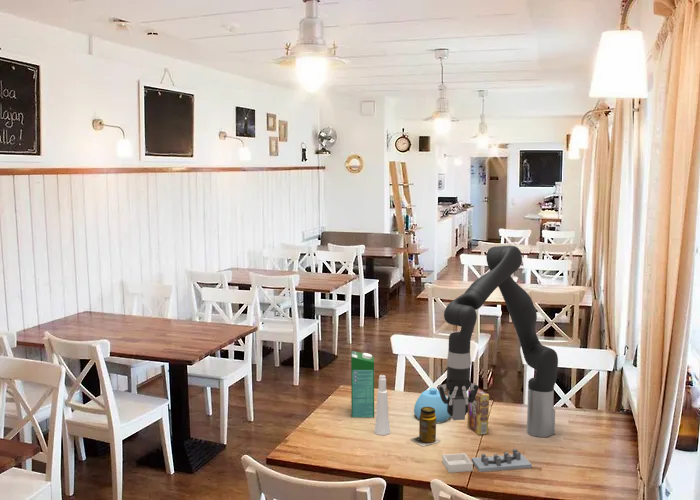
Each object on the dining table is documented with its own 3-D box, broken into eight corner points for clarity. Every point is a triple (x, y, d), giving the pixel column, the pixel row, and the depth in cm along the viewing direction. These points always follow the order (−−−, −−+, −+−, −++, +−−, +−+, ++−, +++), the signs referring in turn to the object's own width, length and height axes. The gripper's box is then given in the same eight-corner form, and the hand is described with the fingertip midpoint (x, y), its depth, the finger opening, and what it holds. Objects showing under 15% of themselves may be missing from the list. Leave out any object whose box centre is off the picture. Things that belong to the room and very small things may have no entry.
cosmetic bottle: (374, 429, 255) (374, 373, 252) (390, 429, 255) (390, 373, 252) (374, 435, 249) (374, 378, 246) (390, 435, 249) (390, 378, 246)
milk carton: (374, 417, 266) (374, 356, 263) (351, 417, 267) (351, 356, 263) (373, 409, 275) (373, 350, 272) (351, 409, 276) (351, 350, 272)
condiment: (440, 441, 244) (441, 409, 242) (422, 447, 239) (423, 414, 237) (427, 434, 250) (428, 403, 248) (410, 440, 245) (410, 408, 243)
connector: (461, 415, 224) (461, 392, 223) (464, 419, 220) (465, 396, 219) (449, 415, 223) (450, 393, 222) (453, 420, 219) (453, 397, 218)
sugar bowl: (425, 407, 278) (426, 380, 276) (458, 415, 269) (458, 387, 267) (407, 418, 266) (407, 390, 264) (440, 427, 257) (441, 398, 255)
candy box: (489, 433, 250) (489, 394, 248) (478, 435, 249) (479, 395, 247) (476, 425, 258) (477, 387, 256) (466, 426, 257) (467, 388, 255)
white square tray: (464, 460, 228) (465, 453, 228) (472, 470, 220) (472, 463, 220) (442, 462, 227) (442, 454, 226) (449, 472, 219) (449, 465, 219)
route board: (521, 457, 230) (522, 447, 229) (531, 467, 222) (531, 457, 222) (471, 461, 227) (471, 451, 227) (479, 471, 219) (479, 461, 219)
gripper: (475, 360, 224) (474, 409, 226) (434, 361, 222) (433, 411, 224) (483, 367, 217) (481, 418, 219) (440, 368, 215) (439, 420, 217)
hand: (457, 414), depth 221 cm, fingers closed on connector, 4 cm apart
